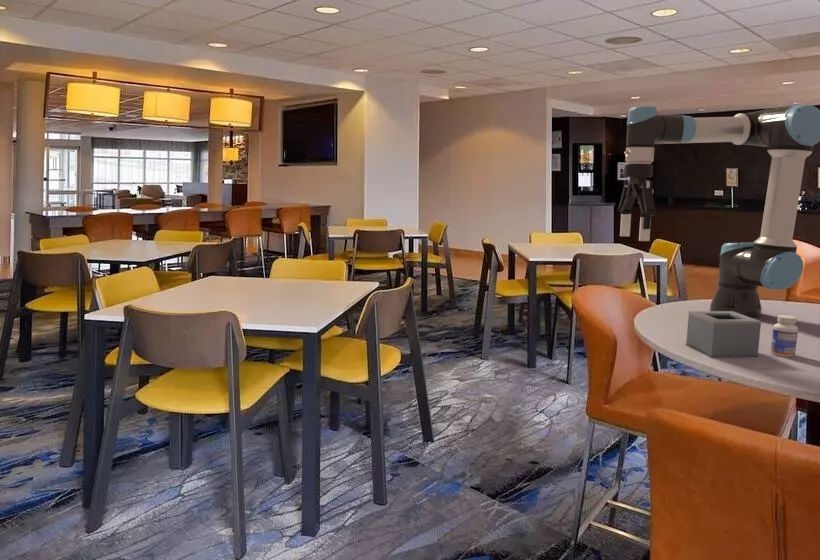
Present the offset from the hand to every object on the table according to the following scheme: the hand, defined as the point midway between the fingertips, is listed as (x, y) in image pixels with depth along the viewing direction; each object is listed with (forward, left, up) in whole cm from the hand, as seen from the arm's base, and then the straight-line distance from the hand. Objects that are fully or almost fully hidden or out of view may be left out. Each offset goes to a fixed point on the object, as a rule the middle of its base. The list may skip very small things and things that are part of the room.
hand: (634, 238), depth 189 cm
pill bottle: (-26, +31, -26) cm, 49 cm away
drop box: (-12, +27, -26) cm, 40 cm away
